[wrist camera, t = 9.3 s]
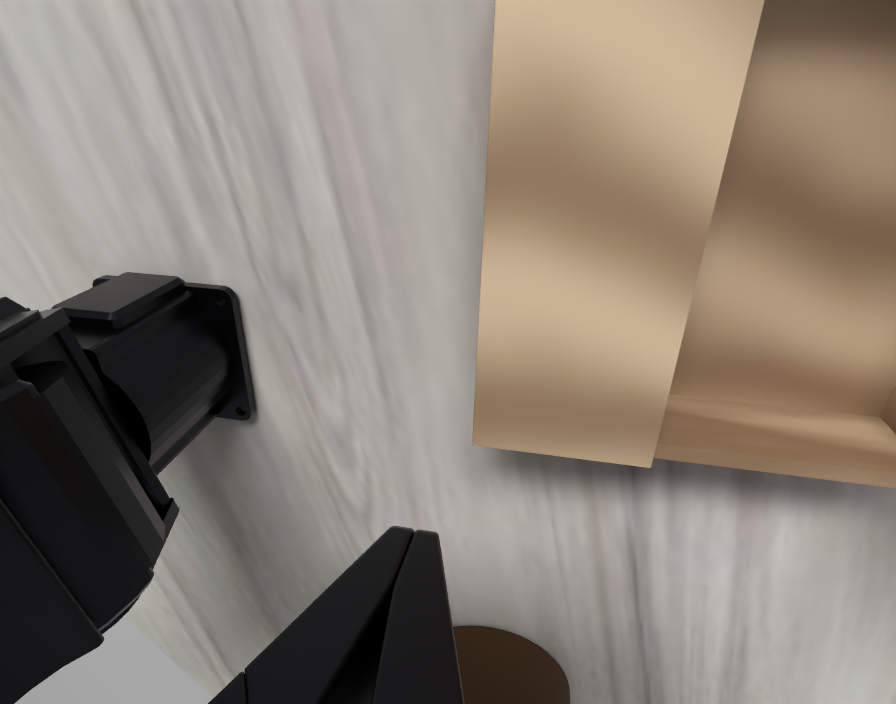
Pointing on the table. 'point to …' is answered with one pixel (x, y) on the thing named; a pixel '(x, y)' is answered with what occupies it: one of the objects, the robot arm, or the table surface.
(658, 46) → the flap
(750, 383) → the wooden box
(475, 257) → the table surface
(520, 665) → the olive oil
